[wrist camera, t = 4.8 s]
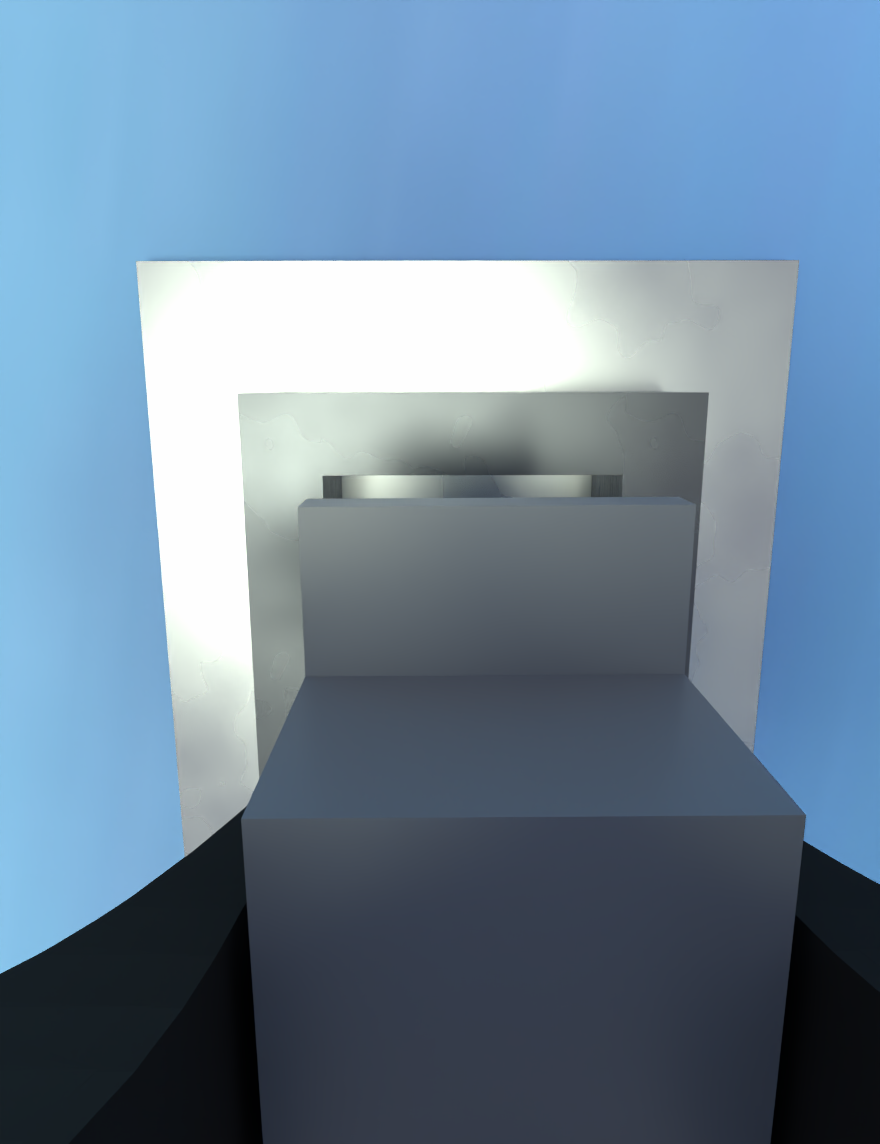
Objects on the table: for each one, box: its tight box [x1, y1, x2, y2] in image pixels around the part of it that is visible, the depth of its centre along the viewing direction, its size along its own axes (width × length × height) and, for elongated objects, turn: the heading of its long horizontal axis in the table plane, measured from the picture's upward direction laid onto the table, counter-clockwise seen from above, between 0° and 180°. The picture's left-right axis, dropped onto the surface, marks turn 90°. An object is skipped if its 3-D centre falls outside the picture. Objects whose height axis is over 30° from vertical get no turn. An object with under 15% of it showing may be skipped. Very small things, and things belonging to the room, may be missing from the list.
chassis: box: [136, 260, 799, 857], centre depth 18 cm, size 14×16×4 cm
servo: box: [241, 497, 806, 1144], centre depth 9 cm, size 4×10×7 cm, turn 0°
